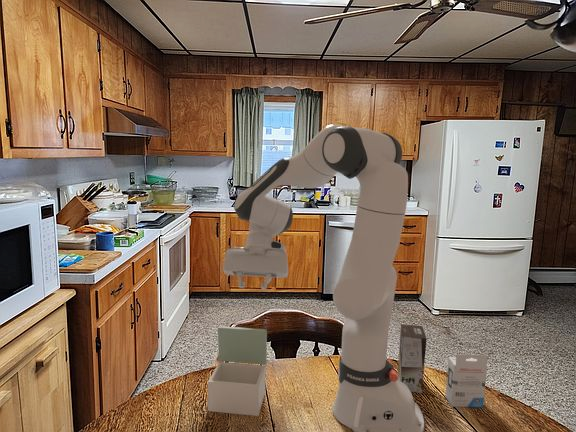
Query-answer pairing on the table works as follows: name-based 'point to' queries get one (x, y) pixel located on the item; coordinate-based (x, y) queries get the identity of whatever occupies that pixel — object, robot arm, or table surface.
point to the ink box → (466, 380)
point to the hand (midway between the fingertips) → (252, 287)
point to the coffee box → (412, 357)
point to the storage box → (237, 388)
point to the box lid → (242, 345)
